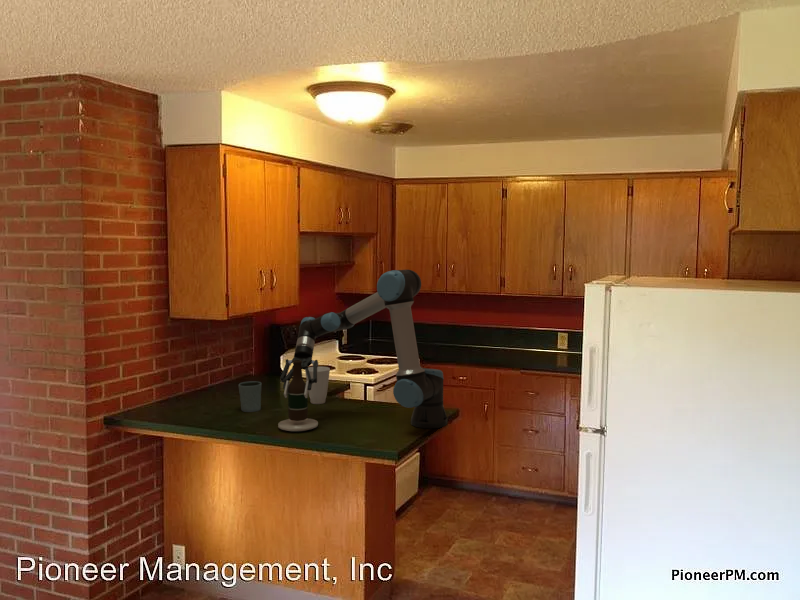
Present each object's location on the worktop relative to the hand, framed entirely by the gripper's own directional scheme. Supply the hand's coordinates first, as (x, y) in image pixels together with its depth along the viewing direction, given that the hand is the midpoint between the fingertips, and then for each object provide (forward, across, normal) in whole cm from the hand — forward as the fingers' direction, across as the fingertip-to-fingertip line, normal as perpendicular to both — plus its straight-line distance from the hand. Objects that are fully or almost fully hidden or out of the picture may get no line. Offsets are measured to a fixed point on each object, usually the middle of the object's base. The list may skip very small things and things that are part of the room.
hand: (295, 396), depth 276 cm
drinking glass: (-12, +29, -32) cm, 45 cm away
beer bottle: (+5, 0, -10) cm, 11 cm away
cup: (-24, +2, -44) cm, 51 cm away
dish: (+7, 0, -12) cm, 14 cm away
